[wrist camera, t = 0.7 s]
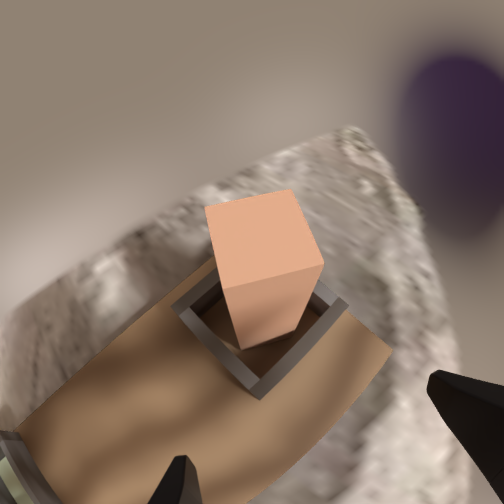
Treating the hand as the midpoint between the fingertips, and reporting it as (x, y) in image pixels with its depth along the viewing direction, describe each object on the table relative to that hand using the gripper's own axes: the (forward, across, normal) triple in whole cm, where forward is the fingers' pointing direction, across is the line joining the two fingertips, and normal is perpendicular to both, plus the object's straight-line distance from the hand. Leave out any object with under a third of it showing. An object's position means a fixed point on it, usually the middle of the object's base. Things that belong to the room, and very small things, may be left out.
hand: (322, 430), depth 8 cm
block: (+14, 0, +3) cm, 14 cm away
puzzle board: (+9, +13, +10) cm, 18 cm away
